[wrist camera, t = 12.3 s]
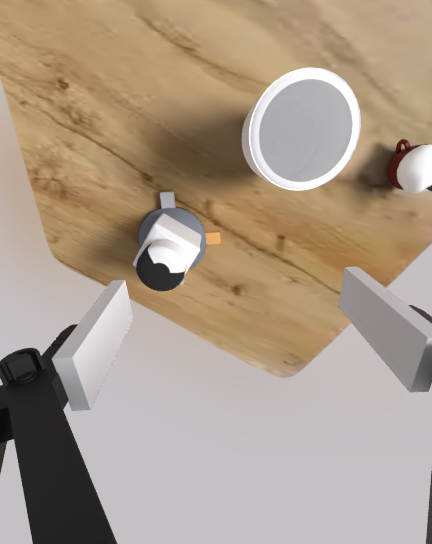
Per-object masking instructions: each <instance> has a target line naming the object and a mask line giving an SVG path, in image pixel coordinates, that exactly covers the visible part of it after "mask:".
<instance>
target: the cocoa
mask: <svg viewBox="0 0 432 544" xmlns="http://www.w3.org/2000/svg"><path fill="white" fill-rule="evenodd" d="M402 144H404V146H405V149H404V150H402V151H401V145H402ZM388 178H389V180H390V182H391V183H392V184H393V185H394V186H395V187H397V188H399V189H402V190H404V192H406V193H410V194H419V193H422V192H424V191H427V190H430V191H432V145H428V144H422V145H417V146H412V147H410V144H409V142H408V141H407V140H405V139H402V140H401V141H399V142H398V144H397V147H396V155H395V157H394V158H393V159H392V161H391V162H390V164H389V168H388Z"/></svg>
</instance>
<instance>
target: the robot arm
mask: <svg viewBox="0 0 432 544" xmlns="http://www.w3.org/2000/svg"><path fill="white" fill-rule="evenodd" d="M339 308H340V309H341V311H342V312H343V313H344V314H345V315H346V317H347V318H348V319H349V320H350V321H351V323H352V324H353V325H354V326H355V327H356V329H357V330H358V331H359V332H360V333H361V335H362V336H363V337H364V338H365V339H366V340H367V342H368V343H369V344H370V345H371V347H372V348H373V349H374V350H375V351H376V353H377V354H378V355H379V356H380V357H381V359H382V360H383V361H384V362H385V363H386V365H387V366H388V367H389V368H390V369H391V370H392V372H393V373H394V374H395V375H396V377H397V378H398V379H399V380H400V381H401V382H402V384H403V385H404V386H405V387H406V388H407V390H408V391H409V392H427V391H429V389H430V386H431V383H432V317H431V316H430V315H429V314H427V313H426V312H424V311H423V310H421V309H419V308H416V307H414V306H412V305H407V304H406V303H404V302H403V301H402V300H400V299H399V298H398V297H397V296H395V295H394V294H393V293H391V292H390V291H389V290H387V289H386V288H385V287H384V286H382V285H381V284H380V283H378V282H377V281H376V280H374V279H373V278H372V277H371V276H369V275H368V274H367V273H365V272H364V271H363V270H361V269H360V268H359V267H345V269H344V275H343V282H342V288H341V294H340V301H339ZM132 320H133V315H132V310H131V306H130V301H129V296H128V291H127V287H126V282H125V280H112V281H111V283H110V284H109V285H108V287H107V288H106V289H105V291H104V292H103V293H102V294H101V296H100V297H99V298H98V300H97V301H96V302H95V303H94V305H93V306H92V307H91V309H90V310H89V311H88V312H87V314H86V315H85V316H84V318H83V319H82V320H81V321H80V323H79V324H77V325H71V326H69V327H68V328H66V329H65V330H64V331H62V332H61V333H60V335H59V336H58V337H57V338H56V340H55V341H54V342H53V343H52V344H51V346H50V347H49V348H48V349H47V350H46V351H45V353H44V354H43V355H42V356H41V355H40V353H39V351H38V350H37V349H34V348H26V349H21V350H18V351H15V352H13V353H11V354H9V355H7V356H6V357H5V358H3V359H2V360H1V361H0V378H1V381H2V383H3V385H1V386H0V472H1V467H2V463H3V458H4V453H5V449H6V444H7V441H9V440H12V439H14V441H15V447H16V452H17V457H18V463H19V469H20V474H21V479H22V486H23V491H24V496H25V501H26V507H27V513H28V519H29V524H30V530H31V535H32V540H33V544H117V542H116V540H115V537H114V534H113V532H112V530H111V527H110V525H109V522H108V520H107V518H106V515H105V512H104V510H103V507H102V505H101V502H100V500H99V498H98V495H97V492H96V490H95V488H94V485H93V483H92V480H91V478H90V475H89V473H88V470H87V468H86V465H85V463H84V460H83V458H82V455H81V453H80V450H79V448H78V446H77V443H76V441H75V438H74V436H73V433H72V431H71V428H70V426H69V423H68V421H67V419H66V416H65V414H64V411H63V409H64V407H65V405H66V404H67V402H69V404H70V407H71V409H72V411H77V410H91V408H92V406H93V404H94V401H95V399H96V397H97V395H98V393H99V391H100V389H101V387H102V384H103V382H104V380H105V378H106V376H107V374H108V371H109V369H110V367H111V365H112V363H113V361H114V358H115V357H116V354H117V352H118V350H119V348H120V346H121V344H122V342H123V339H124V337H125V335H126V333H127V331H128V329H129V327H130V324H131V322H132ZM426 544H432V473H431V486H430V498H429V512H428V524H427V538H426Z"/></svg>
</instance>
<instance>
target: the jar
mask: <svg viewBox="0 0 432 544" xmlns="http://www.w3.org/2000/svg"><path fill="white" fill-rule="evenodd" d="M360 126H361V117H360V109H359V105H358V102H357V99H356V97H355V95H354V93H353V91H352V89H351V88H350V87H349V85H348V84H347V83H346V82H345V81H344V80H343V79H342V78H341V77H339V76H338V75H336V74H335V73H333V72H330V71H328V70H325V69H321V68H302V69H298V70H295V71H292V72H290V73H287V74H285V75H284V76H282V77H280V78H279V79H278V80H276V81H275V82H274V83H273V84H272V85H271V86H270V87H269V88H268V89H267V90H266V91H265V92H264V94H263V95H262V96H261V97H260V98H259V99H258V100H257V101H256V102H255V103H254V105H253V106H252V108H251V109H250V111H249V113H248V115H247V117H246V119H245V122H244V125H243V130H242V149H243V153H244V156H245V159H246V161H247V163H248V165H249V166H250V168H251V169H252V170H253V171H254V172H255V173H256V174H257V175H258V176H259V177H261V178H262V179H264V180H266V181H268V182H270V183H273V184H275V185H277V186H279V187H282V188H285V189H289V190H308V189H312V188H315V187H318V186H320V185H322V184H324V183H326V182H328V181H329V180H331V179H332V178H334V177H335V176H336V175H337V174H338V173H339V172H340V171H341V170H342V169H343V168H344V167H345V165H346V164H347V163H348V161H349V160H350V158H351V156H352V154H353V152H354V150H355V148H356V145H357V142H358V139H359V134H360Z"/></svg>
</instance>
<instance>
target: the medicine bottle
mask: <svg viewBox="0 0 432 544" xmlns="http://www.w3.org/2000/svg"><path fill="white" fill-rule="evenodd" d="M201 238H202V236H201V235H200V234H199V233H197V232H195V231H193V230H192V229H190V228H188V227H187V226H185V225H183V224H182V223H180V222H178V221H176V220H175V219H173V218H171V217H170V216H168V215H166V214H164V213H163V214H161V216H160V217H159V218H158V219H157V221H156V222H155V223H154V224H153V226H152V228H151V230H150V232H149V234H148V236H147V237H146V239H145V241H144V243H143V245H142V247H141V249H140V251H139V252H138V254H137V256H136V258H135V260H134V262H133V266H135V267H136V270H137V274H138V277H139V278H140V280H141V281H142V282H143V283H144V284H145V285H146V286H147V287H149V288H151V289H153V290H157V291H168V290H172V289H174V288H176V287H177V286H178V285H179V284H180V283H181V282H182V280H183V278H184V276H185V274H186V272H187V271H188V269H189V268H190V266H191V264H192V263H193V261H194V260H195V258H196V256H197V255H198V253H199V252H200V247H201Z"/></svg>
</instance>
